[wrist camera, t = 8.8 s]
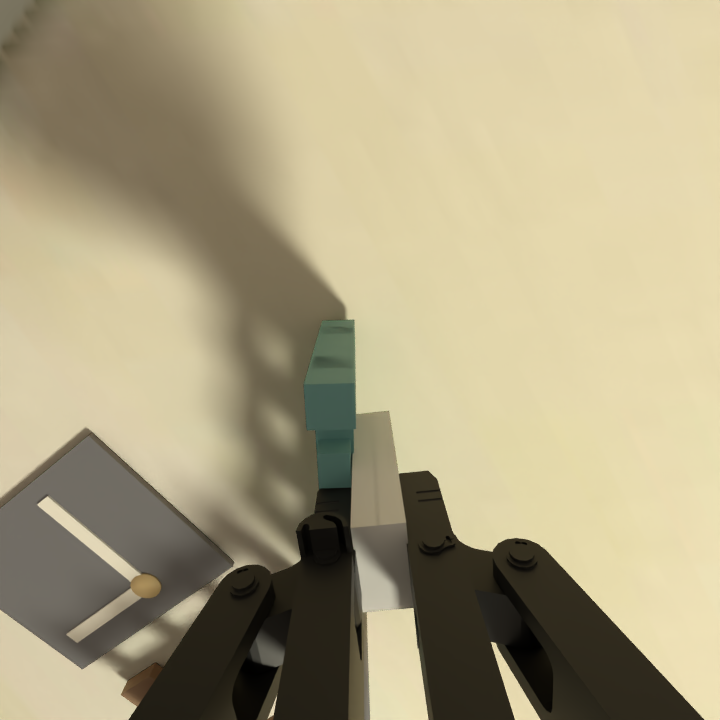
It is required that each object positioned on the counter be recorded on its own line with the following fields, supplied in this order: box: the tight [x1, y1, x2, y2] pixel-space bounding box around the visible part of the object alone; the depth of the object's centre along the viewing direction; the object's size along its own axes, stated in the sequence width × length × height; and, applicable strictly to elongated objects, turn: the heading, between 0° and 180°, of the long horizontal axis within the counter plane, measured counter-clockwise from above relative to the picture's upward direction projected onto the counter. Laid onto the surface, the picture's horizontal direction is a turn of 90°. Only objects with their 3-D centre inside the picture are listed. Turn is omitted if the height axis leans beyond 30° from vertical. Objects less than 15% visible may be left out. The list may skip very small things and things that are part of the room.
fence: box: [304, 320, 370, 720], centre depth 18 cm, size 16×2×8 cm, turn 1°
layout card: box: [0, 433, 234, 669], centre depth 24 cm, size 12×10×1 cm
